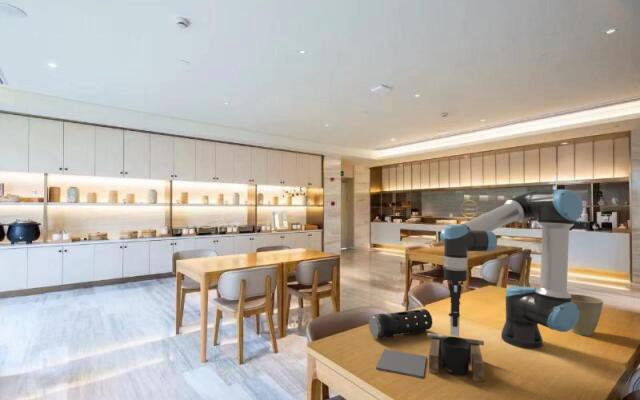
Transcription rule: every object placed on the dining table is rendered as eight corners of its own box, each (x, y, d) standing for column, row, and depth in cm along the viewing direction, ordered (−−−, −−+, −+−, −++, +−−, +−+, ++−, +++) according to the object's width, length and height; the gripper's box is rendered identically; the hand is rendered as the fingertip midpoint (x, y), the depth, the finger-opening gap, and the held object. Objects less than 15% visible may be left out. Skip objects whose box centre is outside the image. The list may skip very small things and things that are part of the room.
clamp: (483, 360, 124) (483, 340, 124) (488, 383, 108) (488, 359, 108) (427, 351, 131) (427, 332, 131) (424, 371, 115) (424, 349, 115)
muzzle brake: (433, 335, 148) (433, 311, 148) (379, 344, 138) (379, 319, 138) (419, 327, 157) (419, 305, 157) (367, 335, 147) (367, 312, 147)
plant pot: (604, 332, 152) (603, 298, 152) (602, 342, 141) (602, 304, 142) (564, 324, 162) (564, 291, 163) (559, 332, 152) (559, 298, 152)
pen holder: (437, 363, 121) (437, 336, 121) (463, 364, 121) (463, 336, 121) (446, 376, 112) (446, 347, 112) (474, 377, 111) (474, 347, 112)
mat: (426, 357, 125) (426, 356, 125) (423, 378, 111) (423, 376, 111) (384, 350, 131) (384, 348, 131) (376, 369, 116) (376, 367, 116)
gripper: (444, 262, 130) (443, 316, 129) (443, 273, 106) (442, 340, 106) (465, 263, 127) (464, 319, 127) (468, 276, 104) (467, 344, 103)
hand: (454, 328), depth 116 cm, fingers open, 13 cm apart
